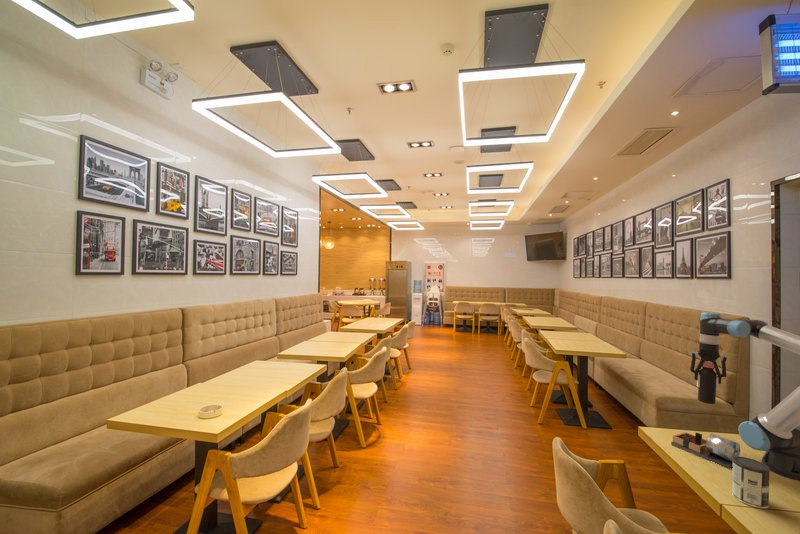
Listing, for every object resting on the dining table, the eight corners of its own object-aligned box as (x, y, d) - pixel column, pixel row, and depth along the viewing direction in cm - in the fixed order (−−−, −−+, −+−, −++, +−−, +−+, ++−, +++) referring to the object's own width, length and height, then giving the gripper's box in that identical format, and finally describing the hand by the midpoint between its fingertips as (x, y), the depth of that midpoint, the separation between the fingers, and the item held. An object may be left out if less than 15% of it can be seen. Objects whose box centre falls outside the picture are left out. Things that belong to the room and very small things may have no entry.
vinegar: (696, 398, 184) (698, 360, 184) (714, 401, 180) (715, 362, 180) (698, 402, 178) (700, 362, 178) (716, 405, 174) (718, 365, 174)
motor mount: (743, 463, 162) (744, 440, 163) (728, 469, 157) (729, 445, 157) (685, 440, 183) (686, 420, 183) (671, 444, 178) (672, 424, 178)
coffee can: (754, 493, 139) (755, 458, 139) (776, 511, 129) (778, 472, 129) (724, 489, 141) (725, 454, 141) (743, 506, 131) (745, 468, 131)
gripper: (732, 344, 177) (730, 390, 177) (683, 339, 187) (681, 382, 187) (736, 347, 171) (734, 394, 171) (685, 341, 181) (683, 385, 181)
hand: (707, 388), depth 179 cm, fingers closed on vinegar, 6 cm apart
